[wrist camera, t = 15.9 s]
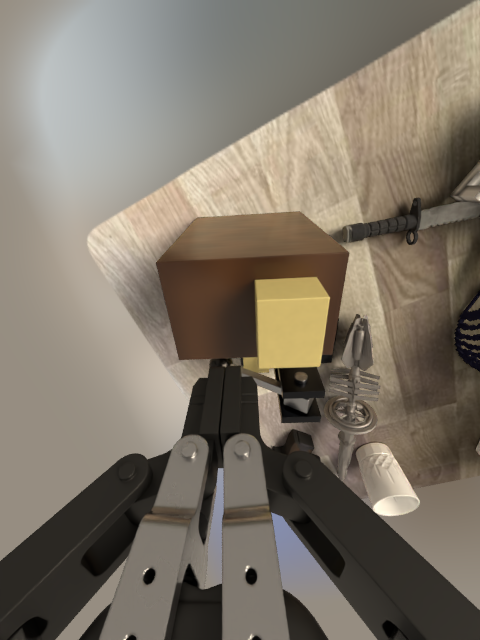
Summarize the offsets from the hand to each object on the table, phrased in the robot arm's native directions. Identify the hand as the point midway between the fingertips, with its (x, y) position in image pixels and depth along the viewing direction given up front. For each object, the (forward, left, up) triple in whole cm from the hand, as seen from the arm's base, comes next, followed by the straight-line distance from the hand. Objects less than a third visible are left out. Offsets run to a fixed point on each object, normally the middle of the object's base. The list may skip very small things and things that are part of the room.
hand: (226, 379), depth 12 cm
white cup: (+25, -44, -23) cm, 55 cm away
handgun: (+15, -39, -21) cm, 47 cm away
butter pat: (+4, 0, -6) cm, 7 cm away
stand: (+1, 0, -22) cm, 22 cm away
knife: (+22, +3, -22) cm, 32 cm away
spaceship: (+17, -26, -22) cm, 38 cm away
